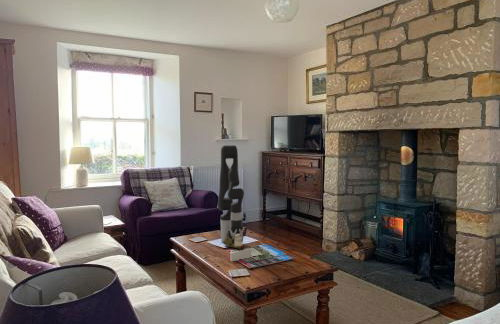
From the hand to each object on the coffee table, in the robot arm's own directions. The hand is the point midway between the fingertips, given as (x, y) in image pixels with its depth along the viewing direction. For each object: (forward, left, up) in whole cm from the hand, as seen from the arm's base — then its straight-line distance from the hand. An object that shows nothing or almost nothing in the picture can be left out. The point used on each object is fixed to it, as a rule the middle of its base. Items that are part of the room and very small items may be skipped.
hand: (237, 243), depth 236 cm
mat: (0, +11, -8) cm, 14 cm away
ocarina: (-16, +3, -8) cm, 18 cm away
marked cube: (0, 0, -1) cm, 1 cm away
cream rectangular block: (+8, -1, -8) cm, 12 cm away
